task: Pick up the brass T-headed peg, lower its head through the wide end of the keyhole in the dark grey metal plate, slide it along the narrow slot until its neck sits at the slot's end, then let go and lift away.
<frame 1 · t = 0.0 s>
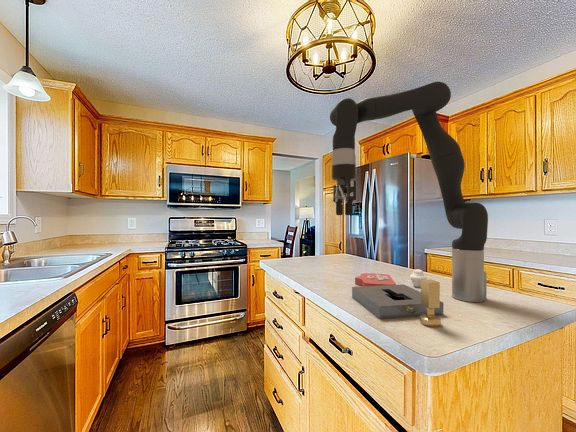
hand: (343, 215, 86), 29 cm above the counter, tool pointing down, fingers open, 8 cm apart
keyhole plate: (393, 304, 87), on the counter
white lidded jar: (418, 286, 109), on the counter
peg: (430, 323, 72), on the counter
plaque: (373, 286, 111), on the counter
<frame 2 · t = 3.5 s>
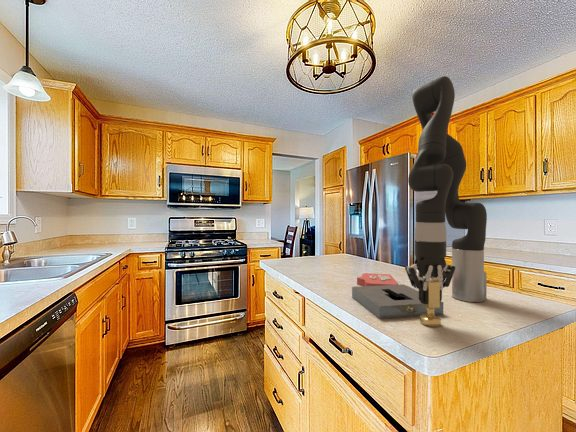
hand: (430, 302, 72), 6 cm above the counter, tool pointing down, fingers closed on peg, 3 cm apart
peg: (430, 323, 72), on the counter, touching gripper
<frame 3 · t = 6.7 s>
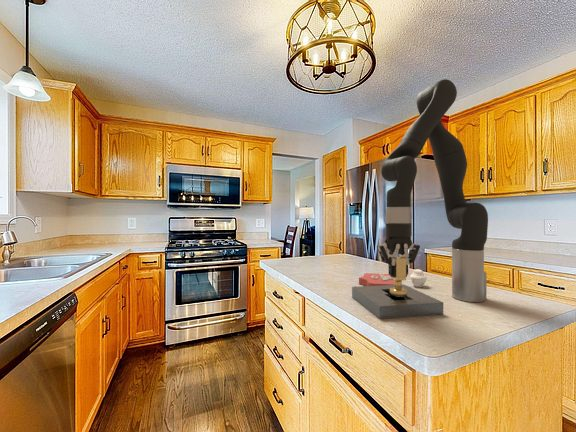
hand: (398, 276, 83), 10 cm above the counter, tool pointing down, fingers closed on peg, 3 cm apart
peg: (398, 294, 84), point 4 cm above the counter, touching gripper
when the fingers open (6 cm above the counter, at t = 9.8 s): peg stays where it is, resting in keyhole plate.
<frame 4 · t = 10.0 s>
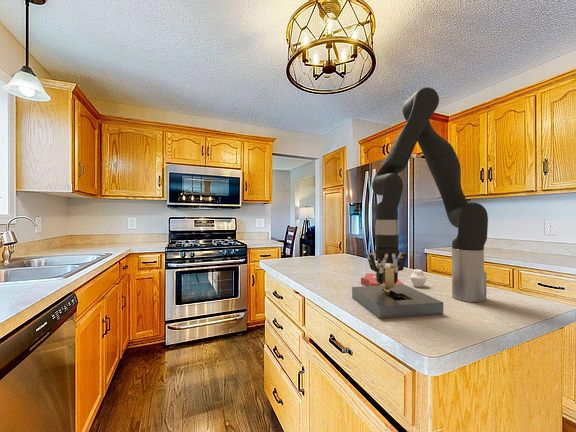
hand: (386, 283, 90), 6 cm above the counter, tool pointing down, fingers open, 4 cm apart
peg: (387, 301, 90), resting in keyhole plate
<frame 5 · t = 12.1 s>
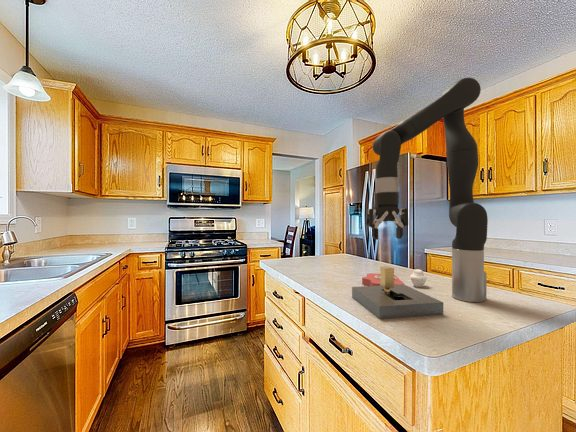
hand: (387, 238, 91), 21 cm above the counter, tool pointing down, fingers open, 8 cm apart
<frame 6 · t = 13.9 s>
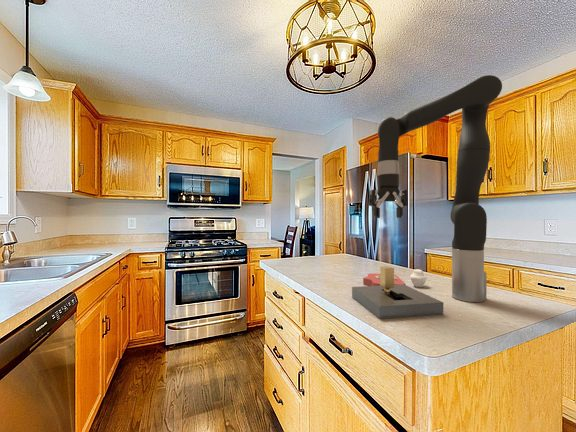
hand: (388, 217, 99), 28 cm above the counter, tool pointing down, fingers open, 8 cm apart
at the end: peg 0.1 cm from the target spot on the keyhole plate, point 0.0 cm above the keyhole plate's base; peg tilted 0°; the gripper is holding nothing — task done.
